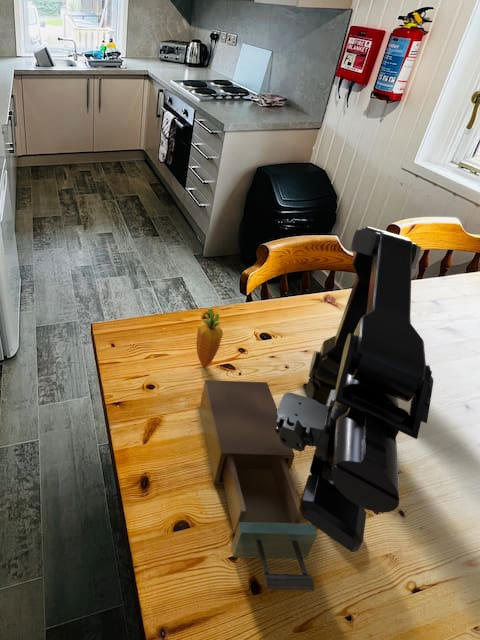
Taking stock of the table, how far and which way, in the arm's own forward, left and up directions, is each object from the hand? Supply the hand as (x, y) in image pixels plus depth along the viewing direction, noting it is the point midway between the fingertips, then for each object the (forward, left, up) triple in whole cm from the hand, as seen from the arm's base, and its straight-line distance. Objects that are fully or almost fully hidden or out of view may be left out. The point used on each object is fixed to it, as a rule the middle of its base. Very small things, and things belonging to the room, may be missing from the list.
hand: (325, 495), depth 54 cm
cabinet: (+7, -13, -11) cm, 18 cm away
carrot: (+10, -29, -11) cm, 32 cm away
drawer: (+7, -1, -10) cm, 12 cm away
